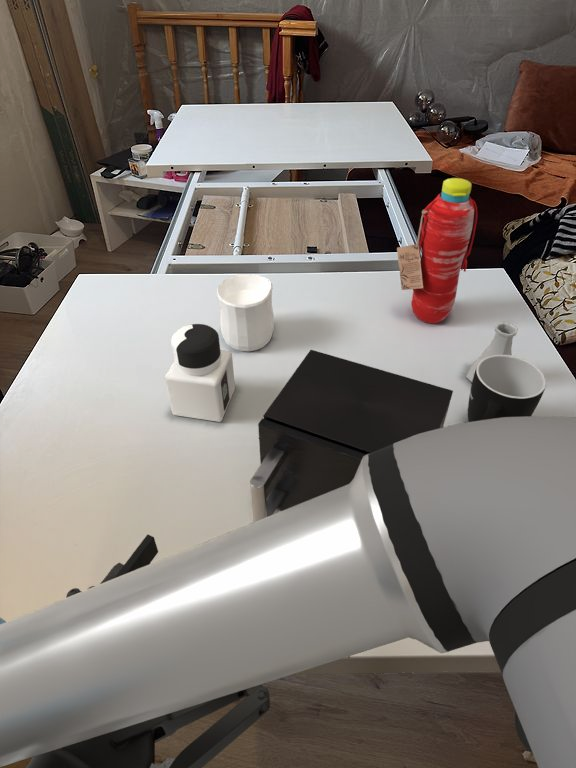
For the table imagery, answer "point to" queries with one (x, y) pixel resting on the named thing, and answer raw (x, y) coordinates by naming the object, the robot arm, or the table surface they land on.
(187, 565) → the robot arm
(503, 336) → the flask
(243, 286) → the cup
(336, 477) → the door
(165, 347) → the table surface
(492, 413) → the mug
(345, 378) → the dark grey cabinet
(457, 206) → the water bottle
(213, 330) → the container
